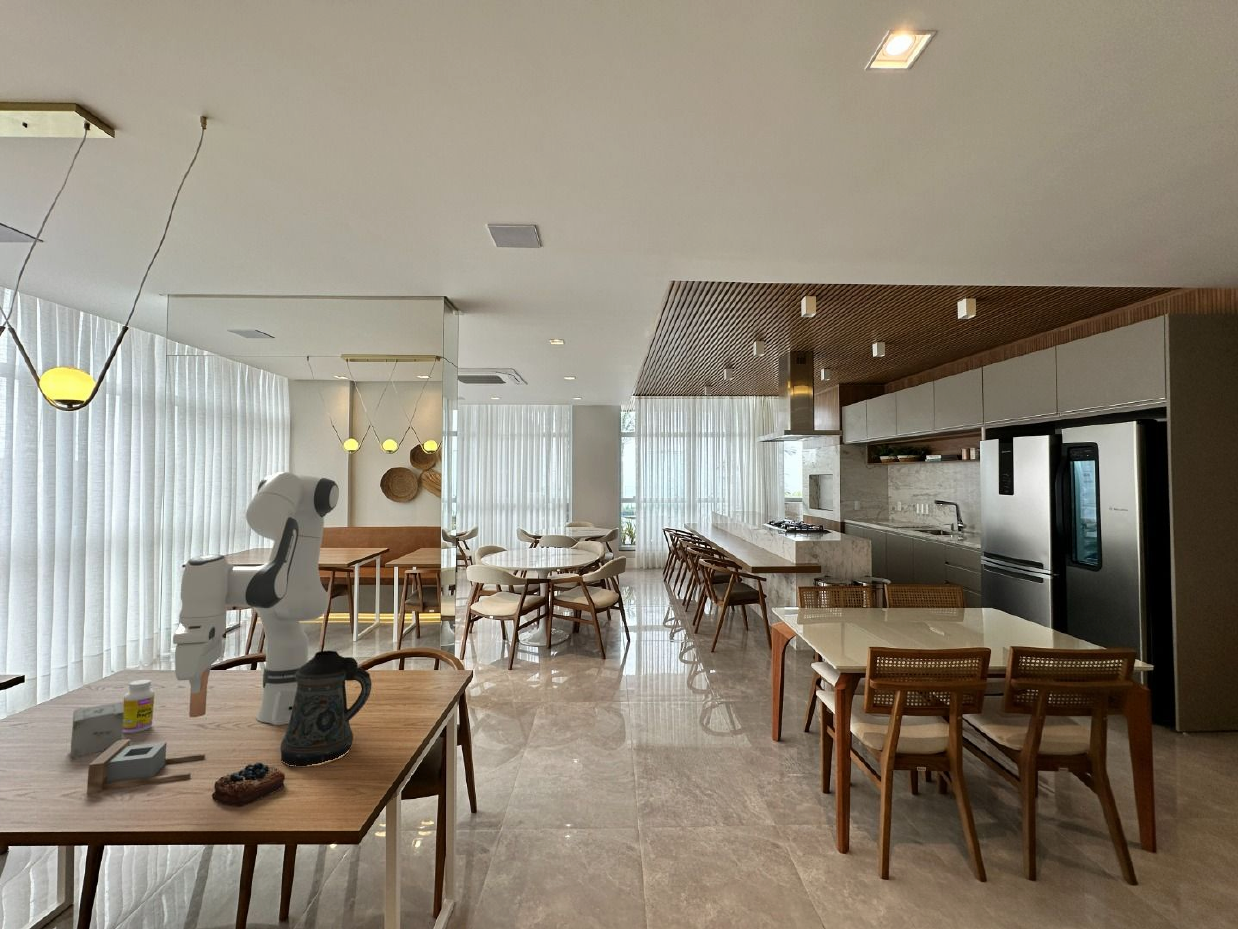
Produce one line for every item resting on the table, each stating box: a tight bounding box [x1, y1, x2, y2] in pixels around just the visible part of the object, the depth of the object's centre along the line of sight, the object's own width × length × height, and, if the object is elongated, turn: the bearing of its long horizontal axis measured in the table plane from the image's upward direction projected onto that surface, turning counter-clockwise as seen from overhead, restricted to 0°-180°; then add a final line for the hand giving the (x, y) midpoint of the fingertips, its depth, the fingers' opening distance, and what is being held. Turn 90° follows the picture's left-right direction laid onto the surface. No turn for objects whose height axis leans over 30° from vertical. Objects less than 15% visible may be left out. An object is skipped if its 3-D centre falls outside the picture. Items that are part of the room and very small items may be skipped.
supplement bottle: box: [122, 679, 155, 734], centre depth 163 cm, size 7×7×13 cm
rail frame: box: [86, 738, 206, 794], centre depth 136 cm, size 18×14×6 cm
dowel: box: [188, 668, 209, 718], centre depth 132 cm, size 3×3×12 cm
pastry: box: [211, 762, 286, 808], centre depth 128 cm, size 11×12×6 cm
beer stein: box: [279, 650, 372, 766], centre depth 150 cm, size 16×19×25 cm
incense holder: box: [69, 701, 124, 759], centre depth 149 cm, size 10×8×10 cm
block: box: [107, 741, 167, 783], centre depth 136 cm, size 8×9×5 cm
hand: (199, 689), depth 132 cm, fingers closed on dowel, 3 cm apart
